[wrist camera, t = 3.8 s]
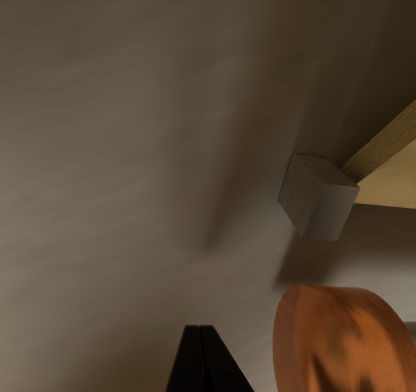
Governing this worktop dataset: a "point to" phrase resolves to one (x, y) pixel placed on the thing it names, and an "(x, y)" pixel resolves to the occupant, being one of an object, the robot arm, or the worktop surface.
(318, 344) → the hitch pin
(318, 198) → the keeper bracket
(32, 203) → the worktop surface
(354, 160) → the plate
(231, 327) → the worktop surface
